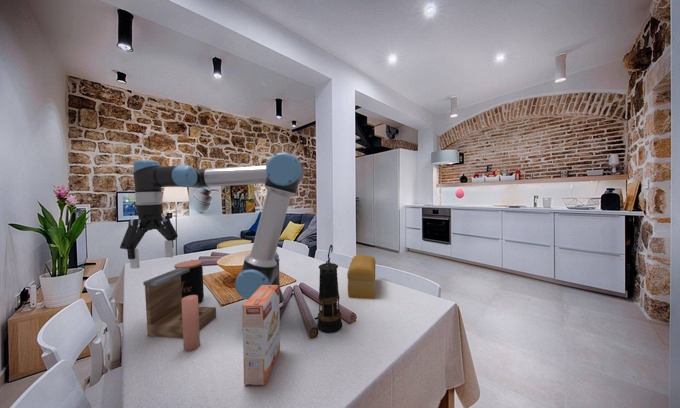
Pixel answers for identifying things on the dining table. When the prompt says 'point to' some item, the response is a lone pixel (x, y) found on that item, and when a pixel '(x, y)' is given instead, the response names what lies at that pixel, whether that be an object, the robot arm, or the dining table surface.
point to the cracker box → (261, 334)
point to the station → (169, 305)
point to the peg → (190, 322)
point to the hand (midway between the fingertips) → (153, 262)
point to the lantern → (329, 298)
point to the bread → (361, 277)
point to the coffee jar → (192, 279)
